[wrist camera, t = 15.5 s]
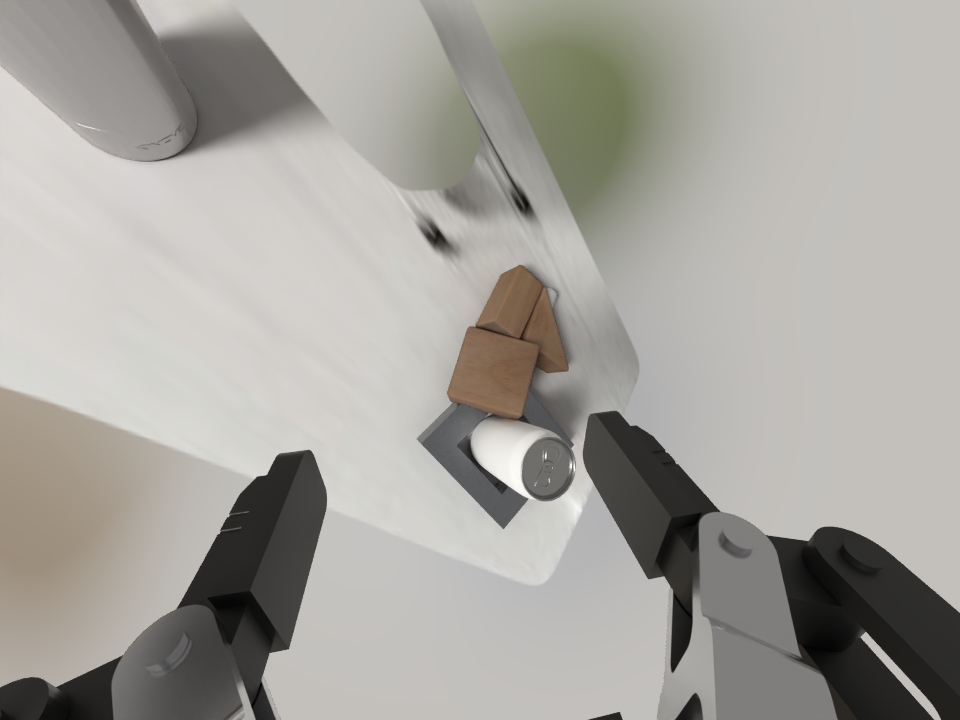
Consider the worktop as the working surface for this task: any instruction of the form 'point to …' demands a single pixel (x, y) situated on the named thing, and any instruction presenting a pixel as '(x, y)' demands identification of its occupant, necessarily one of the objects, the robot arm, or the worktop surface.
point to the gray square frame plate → (444, 449)
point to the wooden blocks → (508, 347)
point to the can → (524, 457)
